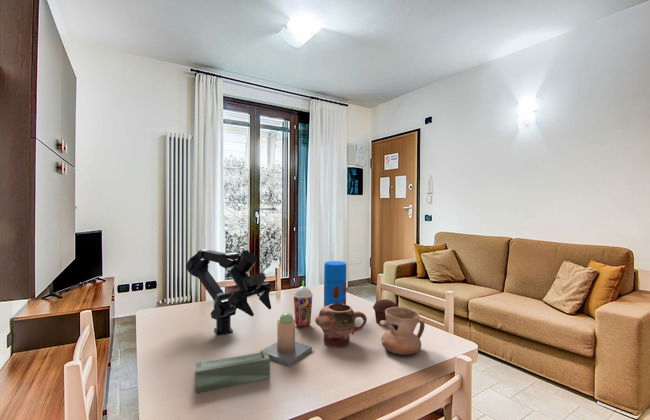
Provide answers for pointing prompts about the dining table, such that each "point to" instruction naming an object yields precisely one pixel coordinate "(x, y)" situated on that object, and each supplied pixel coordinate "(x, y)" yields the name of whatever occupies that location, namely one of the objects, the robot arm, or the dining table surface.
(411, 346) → the ceramic jug
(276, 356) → the slate pad
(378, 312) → the muffin
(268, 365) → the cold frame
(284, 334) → the green ice cream cone
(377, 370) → the dining table surface
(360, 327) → the decorative planter
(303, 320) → the smoothie
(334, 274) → the thermos
